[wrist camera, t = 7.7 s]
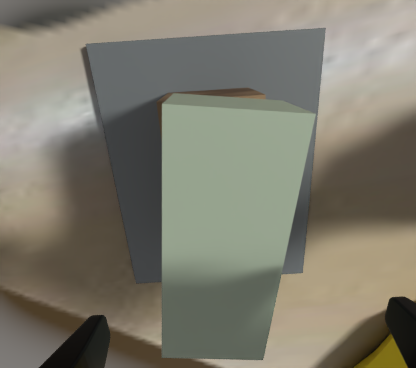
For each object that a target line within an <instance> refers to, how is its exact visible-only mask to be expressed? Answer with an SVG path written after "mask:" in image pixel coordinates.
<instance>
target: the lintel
mask: <svg viewBox="0 0 416 368" xmlns="http://www.w3.org/2000/svg"><path fill="white" fill-rule="evenodd" d="M315 116H316V114H315V113H312V112H310V111H307V110H305V109H302V108H300V107H298V106H295V105H293V104H290V103H288V102H285V101H283V100H268V99H253V98H238V97H223V96H208V95H193V94H179V93H173V94H172V95H171V96H170V97H169V98H168V99H167V100H166V101H165V102H163V103H162V358H198V359H240V360H263V358H264V353H265V349H266V344H267V339H268V335H269V330H270V325H271V321H272V316H273V311H274V307H275V302H276V297H277V293H278V288H279V283H280V279H281V274H282V269H283V265H284V260H285V255H286V251H287V246H288V242H289V237H290V232H291V228H292V223H293V218H294V214H295V209H296V204H297V200H298V195H299V190H300V186H301V181H302V176H303V172H304V167H305V162H306V158H307V153H308V148H309V144H310V139H311V134H312V130H313V125H314V120H315Z"/></svg>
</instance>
